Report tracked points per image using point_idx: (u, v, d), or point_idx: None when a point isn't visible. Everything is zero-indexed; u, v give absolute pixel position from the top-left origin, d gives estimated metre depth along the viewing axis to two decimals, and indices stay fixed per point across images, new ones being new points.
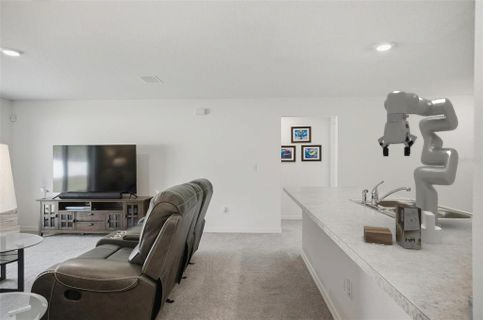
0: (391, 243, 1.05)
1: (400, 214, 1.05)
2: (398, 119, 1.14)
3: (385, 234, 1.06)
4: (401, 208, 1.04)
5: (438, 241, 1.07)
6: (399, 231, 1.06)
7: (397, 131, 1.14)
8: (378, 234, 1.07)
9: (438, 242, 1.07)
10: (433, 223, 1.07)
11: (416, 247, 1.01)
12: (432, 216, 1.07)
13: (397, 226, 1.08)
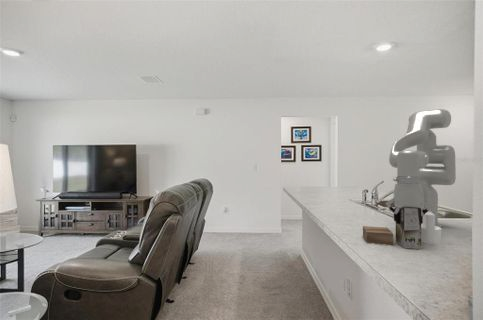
0: (392, 243, 1.05)
1: (400, 214, 1.05)
2: None
3: (386, 234, 1.06)
4: None
5: (438, 241, 1.07)
6: (399, 231, 1.06)
7: None
8: (379, 234, 1.07)
9: (438, 242, 1.07)
10: (433, 223, 1.07)
11: (416, 247, 1.01)
12: (432, 216, 1.07)
13: (397, 226, 1.08)
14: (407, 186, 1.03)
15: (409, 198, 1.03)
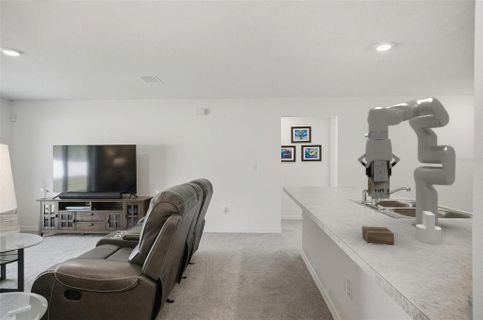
0: (393, 243, 1.06)
1: (371, 168, 1.10)
2: None
3: (387, 234, 1.06)
4: (371, 162, 1.10)
5: (438, 241, 1.07)
6: (370, 184, 1.12)
7: None
8: (380, 234, 1.07)
9: (438, 242, 1.07)
10: (433, 223, 1.07)
11: (385, 197, 1.07)
12: (432, 216, 1.07)
13: (369, 180, 1.14)
14: (377, 140, 1.09)
15: (378, 152, 1.09)
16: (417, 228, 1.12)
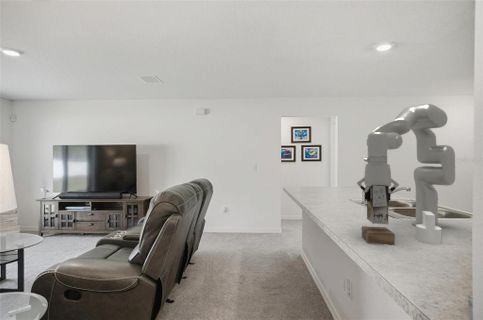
0: (393, 243, 1.06)
1: (370, 192, 1.11)
2: None
3: (387, 234, 1.06)
4: None
5: (438, 241, 1.07)
6: (369, 209, 1.12)
7: None
8: (381, 234, 1.07)
9: (438, 242, 1.07)
10: (433, 223, 1.07)
11: (384, 222, 1.07)
12: (432, 216, 1.07)
13: (368, 204, 1.14)
14: (376, 165, 1.09)
15: (377, 177, 1.09)
16: (417, 228, 1.12)
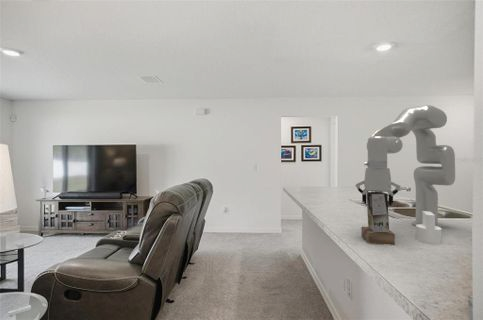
0: (393, 242, 1.06)
1: (369, 200, 1.11)
2: None
3: (388, 234, 1.06)
4: (370, 194, 1.10)
5: (438, 241, 1.07)
6: (369, 217, 1.12)
7: None
8: (381, 234, 1.06)
9: (438, 242, 1.07)
10: (433, 223, 1.07)
11: (384, 230, 1.07)
12: (432, 216, 1.07)
13: (368, 212, 1.14)
14: (376, 169, 1.09)
15: (377, 181, 1.09)
16: (417, 228, 1.12)
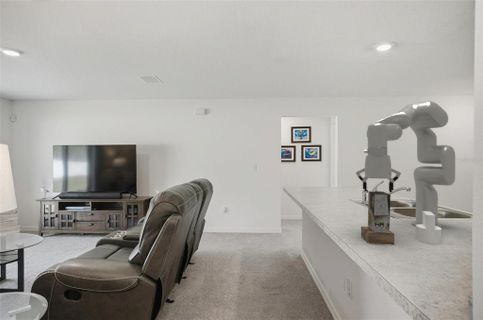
0: (393, 242, 1.06)
1: (372, 200, 1.10)
2: None
3: (387, 234, 1.06)
4: (372, 194, 1.09)
5: (438, 241, 1.07)
6: (370, 216, 1.12)
7: None
8: (381, 234, 1.07)
9: (438, 242, 1.07)
10: (433, 223, 1.07)
11: (385, 231, 1.07)
12: (432, 216, 1.07)
13: (369, 211, 1.14)
14: (376, 156, 1.09)
15: (377, 168, 1.09)
16: (417, 228, 1.12)
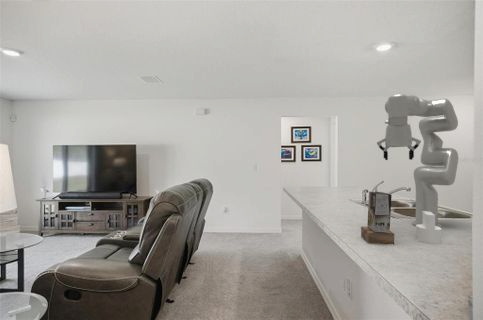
0: (393, 242, 1.06)
1: (372, 200, 1.10)
2: None
3: (387, 234, 1.06)
4: (373, 194, 1.10)
5: (438, 241, 1.07)
6: (370, 216, 1.12)
7: None
8: (381, 234, 1.07)
9: (438, 242, 1.07)
10: (433, 223, 1.07)
11: (385, 231, 1.07)
12: (432, 216, 1.07)
13: (369, 211, 1.14)
14: (397, 126, 1.15)
15: (398, 137, 1.15)
16: (417, 228, 1.12)
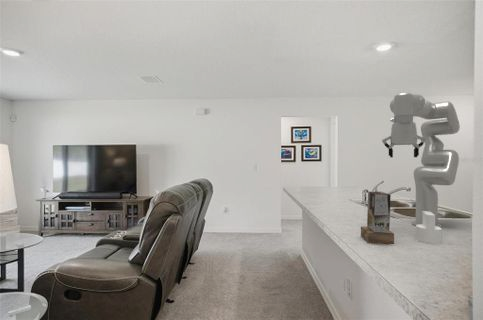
0: (393, 242, 1.06)
1: (372, 200, 1.10)
2: None
3: (387, 234, 1.06)
4: (372, 194, 1.09)
5: (438, 241, 1.07)
6: (370, 216, 1.12)
7: None
8: (381, 234, 1.07)
9: (438, 242, 1.07)
10: (433, 223, 1.07)
11: (385, 231, 1.07)
12: (432, 216, 1.07)
13: (368, 212, 1.14)
14: (402, 123, 1.17)
15: (404, 134, 1.16)
16: (417, 228, 1.12)
